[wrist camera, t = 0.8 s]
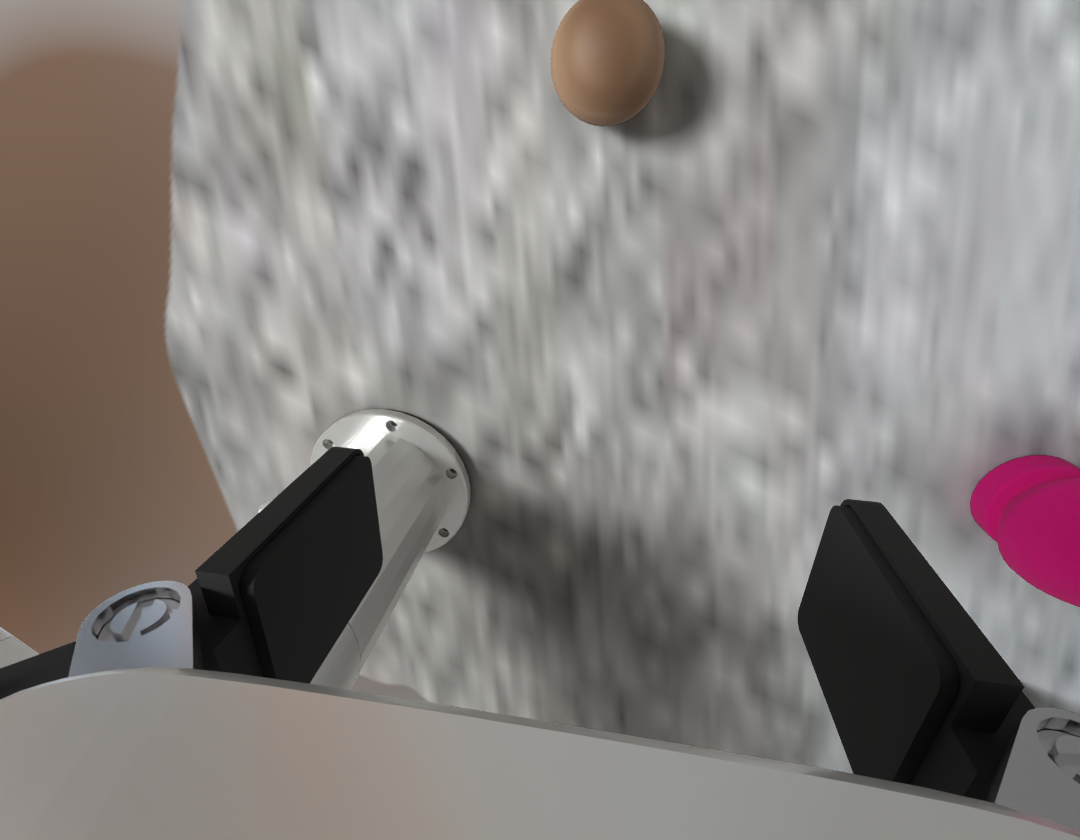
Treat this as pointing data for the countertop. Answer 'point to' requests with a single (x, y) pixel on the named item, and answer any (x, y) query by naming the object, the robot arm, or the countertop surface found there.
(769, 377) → the countertop surface
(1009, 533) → the pepper mill
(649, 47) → the brown egg
